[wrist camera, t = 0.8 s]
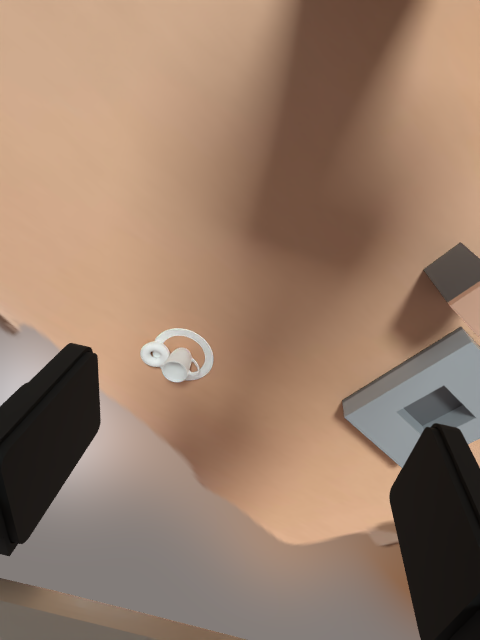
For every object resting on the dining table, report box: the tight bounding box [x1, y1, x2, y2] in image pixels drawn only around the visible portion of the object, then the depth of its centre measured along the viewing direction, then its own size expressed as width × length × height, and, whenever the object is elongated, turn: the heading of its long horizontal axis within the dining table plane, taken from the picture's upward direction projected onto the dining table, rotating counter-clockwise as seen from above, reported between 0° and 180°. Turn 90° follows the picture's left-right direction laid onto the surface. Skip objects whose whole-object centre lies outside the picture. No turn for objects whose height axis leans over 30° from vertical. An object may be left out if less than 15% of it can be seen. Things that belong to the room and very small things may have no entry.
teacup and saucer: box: [140, 328, 213, 382], centre depth 46 cm, size 9×8×4 cm
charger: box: [423, 242, 480, 337], centre depth 34 cm, size 4×4×8 cm
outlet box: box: [342, 327, 480, 468], centre depth 43 cm, size 16×12×3 cm
